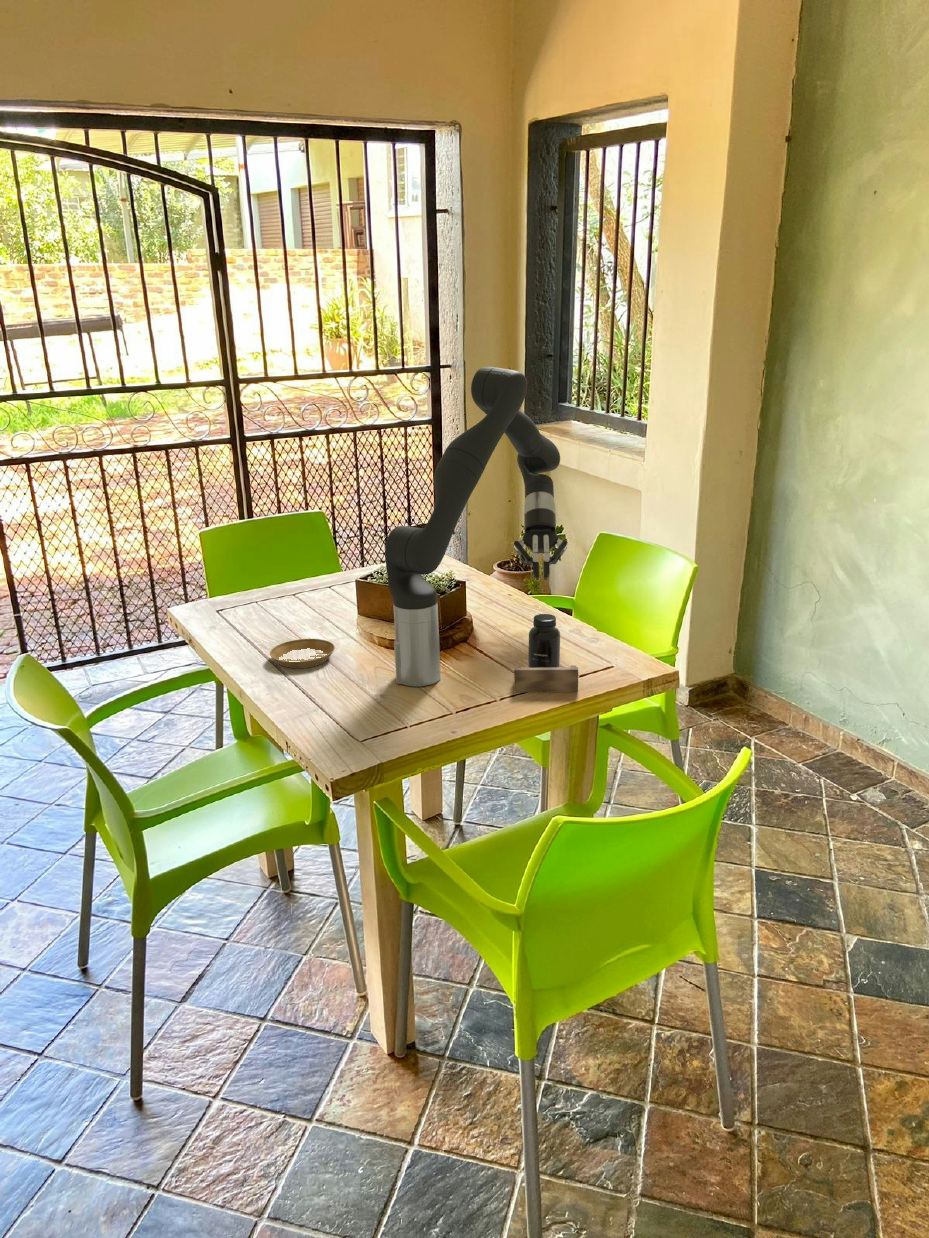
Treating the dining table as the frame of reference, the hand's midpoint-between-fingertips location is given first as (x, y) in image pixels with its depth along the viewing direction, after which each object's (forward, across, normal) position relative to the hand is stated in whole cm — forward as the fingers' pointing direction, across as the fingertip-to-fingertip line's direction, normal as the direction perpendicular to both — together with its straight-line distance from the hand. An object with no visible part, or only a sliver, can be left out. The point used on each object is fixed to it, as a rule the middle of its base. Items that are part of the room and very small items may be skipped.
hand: (541, 578), depth 209 cm
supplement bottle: (+24, 0, -3) cm, 24 cm away
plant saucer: (+19, -55, +2) cm, 58 cm away
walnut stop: (+30, 0, -9) cm, 32 cm away
